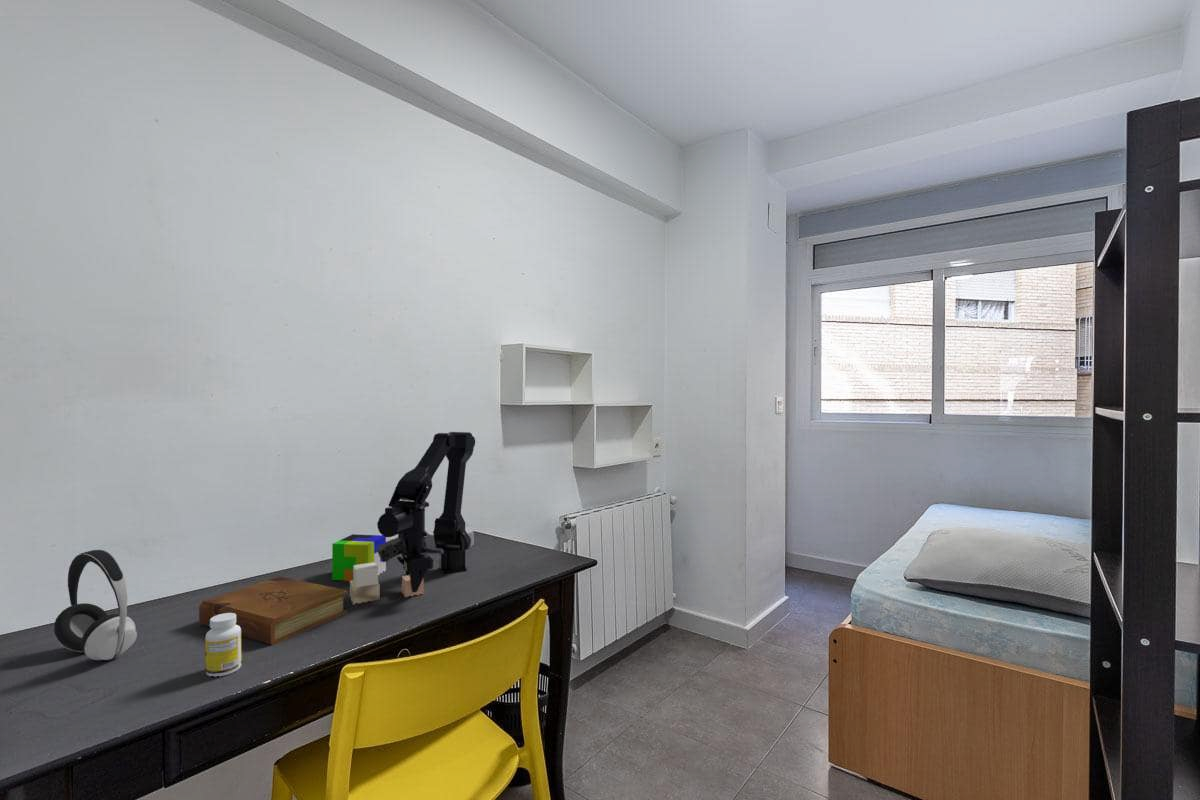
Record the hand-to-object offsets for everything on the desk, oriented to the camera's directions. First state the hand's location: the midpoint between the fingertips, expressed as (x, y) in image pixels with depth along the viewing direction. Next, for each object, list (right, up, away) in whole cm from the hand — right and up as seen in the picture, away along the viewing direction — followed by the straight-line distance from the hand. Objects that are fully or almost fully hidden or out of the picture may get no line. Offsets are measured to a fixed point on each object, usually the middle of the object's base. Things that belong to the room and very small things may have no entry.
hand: (412, 588), depth 141 cm
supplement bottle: (-21, -2, -40) cm, 45 cm away
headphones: (-49, -1, -34) cm, 60 cm away
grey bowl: (-2, -1, +45) cm, 45 cm away
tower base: (-11, -1, -4) cm, 11 cm away
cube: (0, -1, 0) cm, 1 cm away
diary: (-25, -2, -17) cm, 30 cm away
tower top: (-10, +3, -4) cm, 11 cm away
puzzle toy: (-19, -1, +13) cm, 23 cm away
